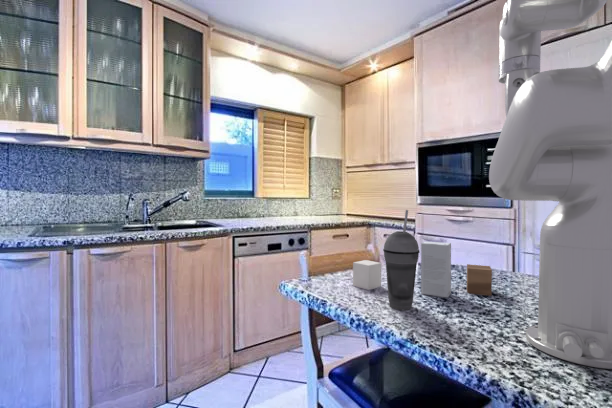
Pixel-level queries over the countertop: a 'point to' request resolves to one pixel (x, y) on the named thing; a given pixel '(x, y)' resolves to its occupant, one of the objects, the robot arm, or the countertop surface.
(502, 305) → the countertop surface
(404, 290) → the beverage cup
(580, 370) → the countertop surface
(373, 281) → the off-white block
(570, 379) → the countertop surface
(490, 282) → the walnut block
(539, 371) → the countertop surface
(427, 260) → the skincare box
